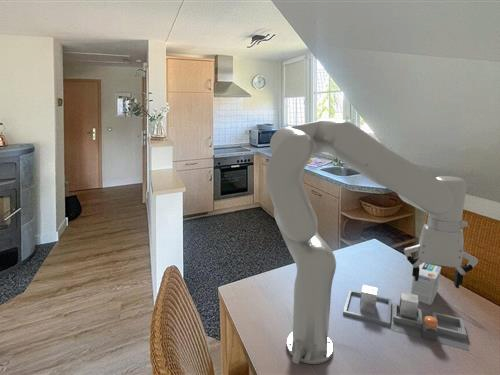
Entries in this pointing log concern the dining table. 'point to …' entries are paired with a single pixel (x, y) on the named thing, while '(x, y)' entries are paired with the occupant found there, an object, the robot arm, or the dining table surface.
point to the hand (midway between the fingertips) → (435, 282)
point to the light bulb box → (426, 283)
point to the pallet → (439, 337)
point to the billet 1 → (368, 299)
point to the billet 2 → (408, 306)
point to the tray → (368, 316)
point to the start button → (430, 322)
